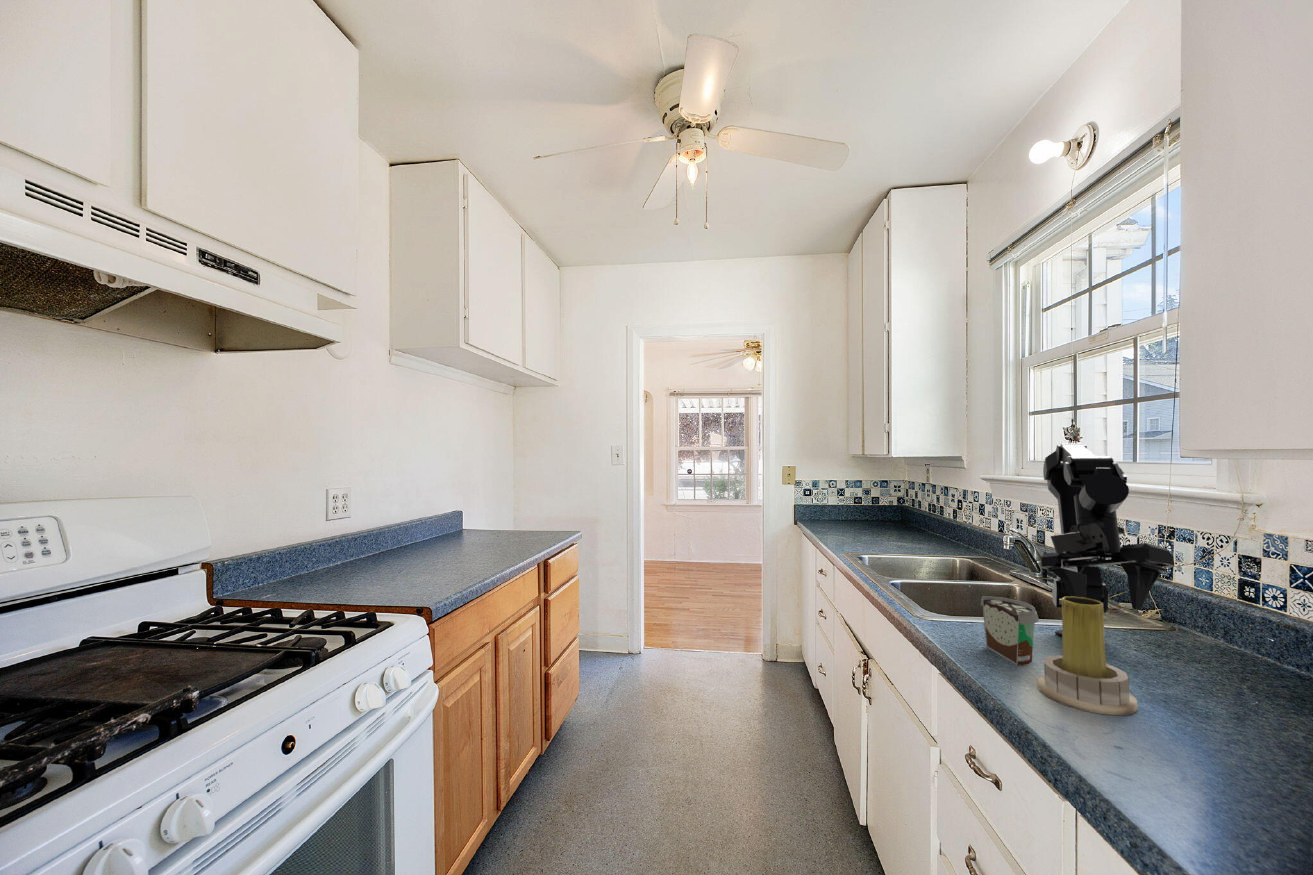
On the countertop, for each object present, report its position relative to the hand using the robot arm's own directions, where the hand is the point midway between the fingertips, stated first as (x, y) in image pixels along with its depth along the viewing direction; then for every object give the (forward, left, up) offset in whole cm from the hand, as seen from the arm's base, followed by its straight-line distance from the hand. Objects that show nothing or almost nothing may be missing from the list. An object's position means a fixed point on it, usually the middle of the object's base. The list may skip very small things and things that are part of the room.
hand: (1107, 609), depth 89 cm
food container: (+1, -14, -13) cm, 19 cm away
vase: (+9, +1, -12) cm, 15 cm away
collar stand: (+9, +1, -12) cm, 16 cm away
